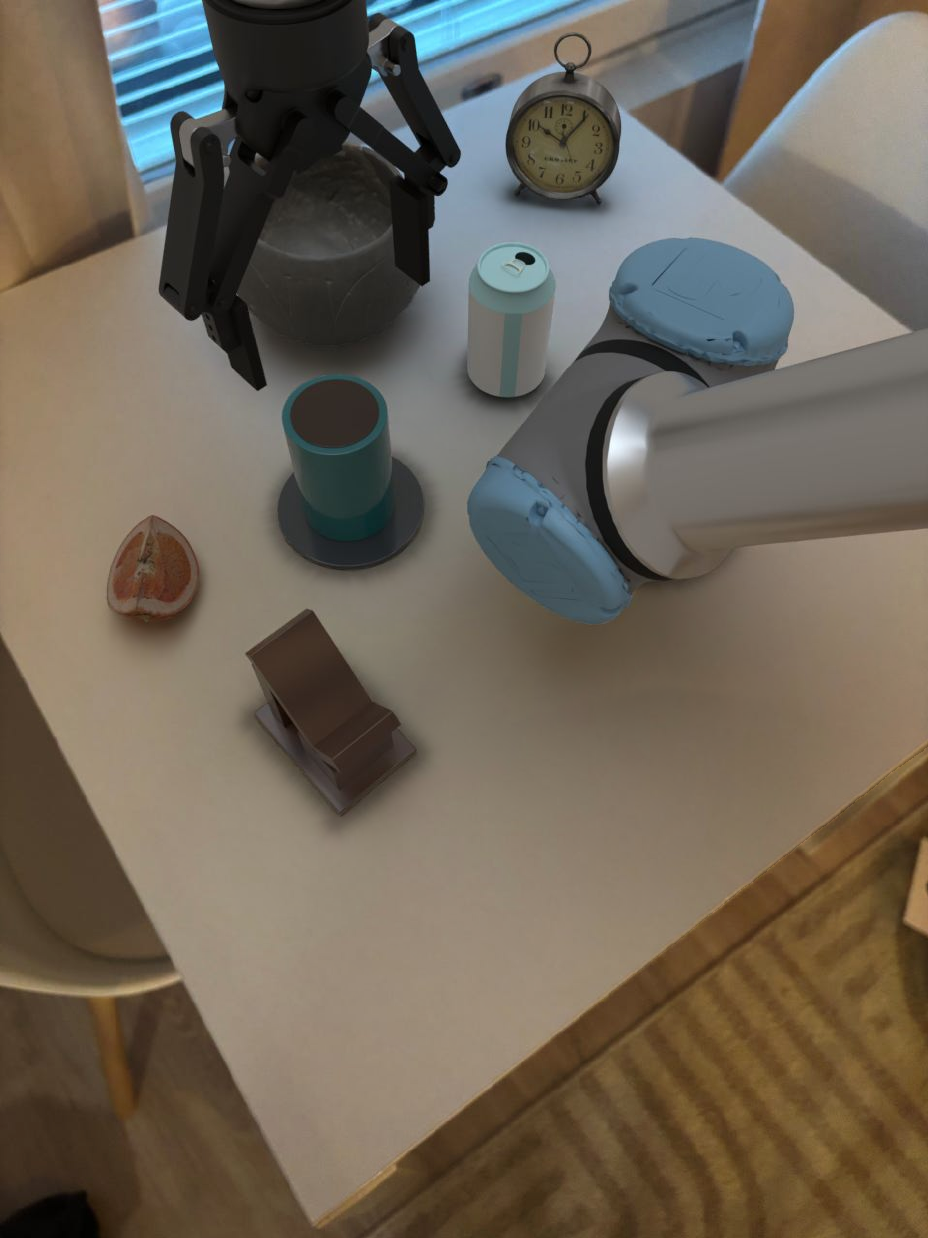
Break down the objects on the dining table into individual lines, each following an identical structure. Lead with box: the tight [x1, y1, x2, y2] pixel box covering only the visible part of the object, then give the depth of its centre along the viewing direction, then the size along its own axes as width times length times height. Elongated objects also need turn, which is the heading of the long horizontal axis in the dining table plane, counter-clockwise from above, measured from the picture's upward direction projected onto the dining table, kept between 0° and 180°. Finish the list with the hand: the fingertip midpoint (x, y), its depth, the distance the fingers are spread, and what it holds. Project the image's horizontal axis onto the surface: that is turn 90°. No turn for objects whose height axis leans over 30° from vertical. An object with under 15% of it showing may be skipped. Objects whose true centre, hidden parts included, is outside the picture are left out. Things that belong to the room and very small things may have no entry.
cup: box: [281, 373, 395, 542], centre depth 73 cm, size 13×8×13 cm
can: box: [466, 241, 557, 398], centre depth 80 cm, size 7×7×12 cm
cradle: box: [244, 608, 417, 817], centre depth 64 cm, size 10×7×11 cm
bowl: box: [236, 140, 421, 347], centre depth 83 cm, size 18×18×13 cm
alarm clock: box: [504, 31, 622, 206], centre depth 90 cm, size 11×5×16 cm, turn 80°
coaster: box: [276, 455, 425, 571], centre depth 78 cm, size 12×12×1 cm
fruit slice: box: [106, 514, 200, 623], centre depth 72 cm, size 8×7×5 cm
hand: (334, 323), depth 61 cm, fingers open, 13 cm apart
